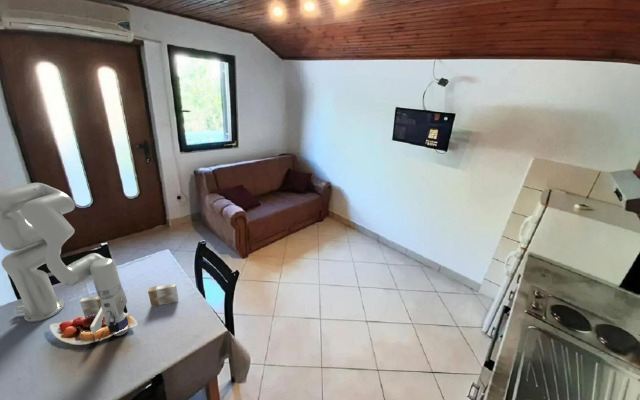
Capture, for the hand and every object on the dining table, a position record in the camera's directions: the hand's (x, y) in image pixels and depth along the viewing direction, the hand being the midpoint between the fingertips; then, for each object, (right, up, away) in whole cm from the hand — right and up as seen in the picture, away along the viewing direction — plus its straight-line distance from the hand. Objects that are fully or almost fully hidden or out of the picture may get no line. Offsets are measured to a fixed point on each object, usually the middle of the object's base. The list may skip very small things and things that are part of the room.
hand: (119, 321), depth 109 cm
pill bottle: (0, -5, +2) cm, 5 cm away
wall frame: (-4, 0, +13) cm, 14 cm away
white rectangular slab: (-9, -4, +2) cm, 10 cm away
